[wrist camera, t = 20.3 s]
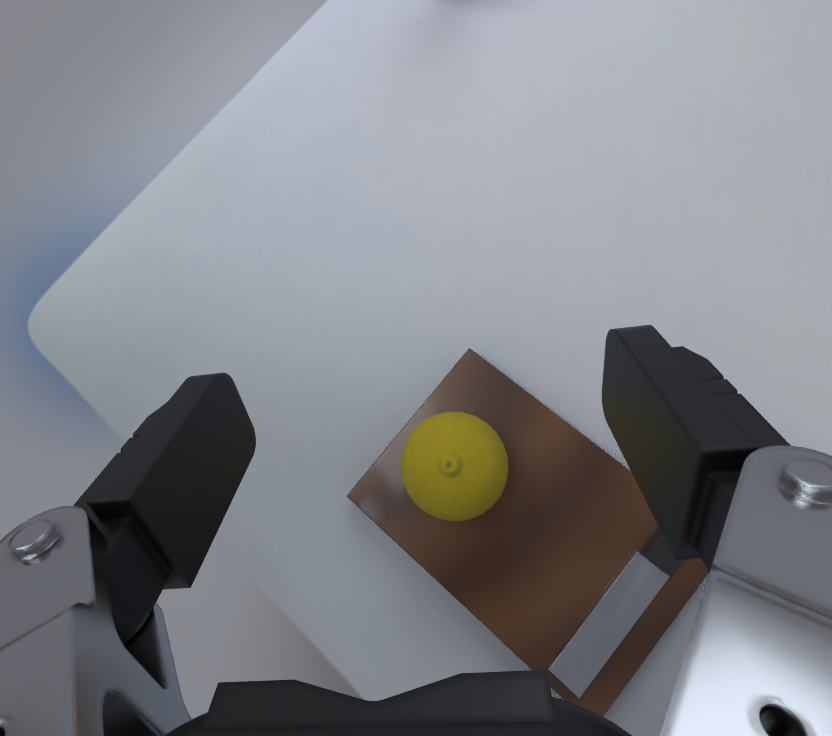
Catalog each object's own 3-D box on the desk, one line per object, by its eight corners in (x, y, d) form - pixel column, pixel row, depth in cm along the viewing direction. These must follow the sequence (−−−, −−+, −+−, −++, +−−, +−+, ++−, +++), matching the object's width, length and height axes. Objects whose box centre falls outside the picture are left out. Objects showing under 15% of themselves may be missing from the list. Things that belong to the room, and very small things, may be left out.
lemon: (440, 403, 29) (426, 379, 21) (520, 449, 28) (537, 441, 20) (395, 481, 28) (363, 486, 20) (475, 532, 27) (474, 557, 19)
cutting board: (352, 494, 30) (346, 496, 28) (469, 353, 31) (469, 347, 29) (588, 713, 26) (594, 728, 24) (715, 541, 26) (728, 545, 25)
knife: (578, 696, 24) (582, 705, 24) (547, 667, 25) (550, 675, 24) (706, 523, 25) (715, 525, 24) (674, 498, 26) (682, 499, 25)
